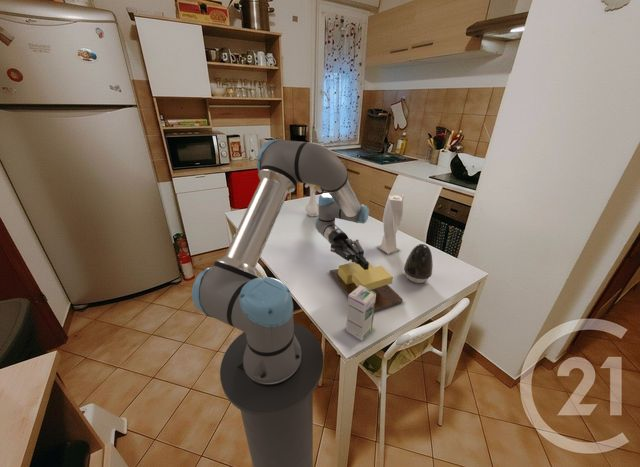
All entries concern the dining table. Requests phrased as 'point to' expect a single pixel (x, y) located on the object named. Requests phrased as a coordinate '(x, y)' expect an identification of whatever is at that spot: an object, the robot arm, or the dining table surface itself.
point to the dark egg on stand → (419, 264)
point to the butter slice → (372, 278)
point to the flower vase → (312, 200)
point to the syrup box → (360, 312)
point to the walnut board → (383, 293)
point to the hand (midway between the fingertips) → (366, 266)
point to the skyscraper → (391, 223)
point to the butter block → (349, 271)
